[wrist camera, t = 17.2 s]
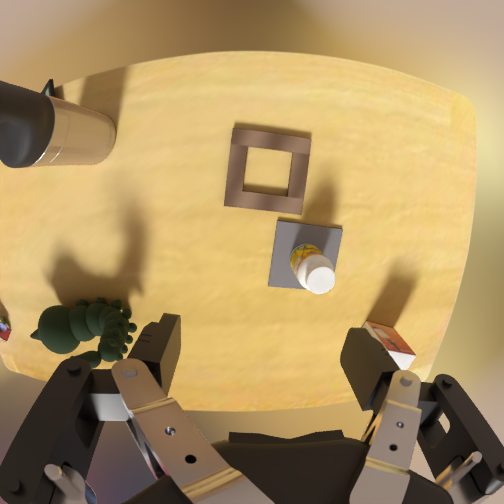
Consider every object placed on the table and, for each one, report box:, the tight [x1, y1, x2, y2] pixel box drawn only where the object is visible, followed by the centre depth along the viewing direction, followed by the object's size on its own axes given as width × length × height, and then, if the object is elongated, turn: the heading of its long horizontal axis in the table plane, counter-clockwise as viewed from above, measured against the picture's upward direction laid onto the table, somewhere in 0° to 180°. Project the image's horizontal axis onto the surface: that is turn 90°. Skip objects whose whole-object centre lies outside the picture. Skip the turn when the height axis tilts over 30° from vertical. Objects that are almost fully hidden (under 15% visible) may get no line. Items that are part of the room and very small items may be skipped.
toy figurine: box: [30, 297, 137, 369], centre depth 38 cm, size 9×19×25 cm
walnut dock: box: [224, 128, 311, 215], centre depth 40 cm, size 12×12×1 cm
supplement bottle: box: [290, 244, 335, 294], centre depth 40 cm, size 5×5×10 cm
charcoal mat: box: [268, 221, 343, 291], centre depth 45 cm, size 11×11×1 cm
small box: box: [362, 321, 416, 370], centre depth 45 cm, size 8×6×10 cm
